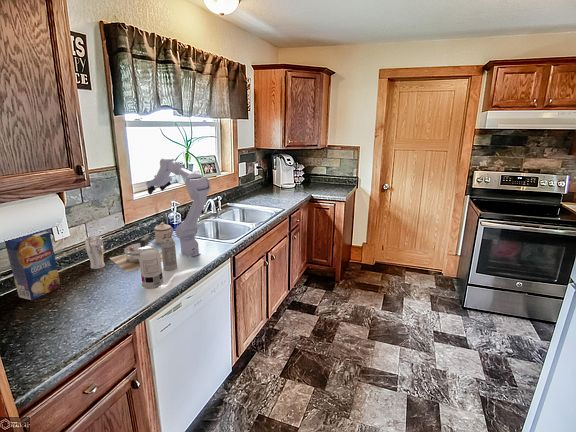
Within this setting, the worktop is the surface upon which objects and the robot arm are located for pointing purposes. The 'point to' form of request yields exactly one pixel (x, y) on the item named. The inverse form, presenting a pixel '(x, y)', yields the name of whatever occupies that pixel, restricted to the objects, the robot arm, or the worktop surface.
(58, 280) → the juice carton
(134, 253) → the cooker lid
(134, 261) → the cream flat block
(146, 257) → the supplement can
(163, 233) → the teacup with lid
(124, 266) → the trivet board
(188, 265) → the worktop surface
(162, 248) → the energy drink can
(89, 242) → the beer glass
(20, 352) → the worktop surface
